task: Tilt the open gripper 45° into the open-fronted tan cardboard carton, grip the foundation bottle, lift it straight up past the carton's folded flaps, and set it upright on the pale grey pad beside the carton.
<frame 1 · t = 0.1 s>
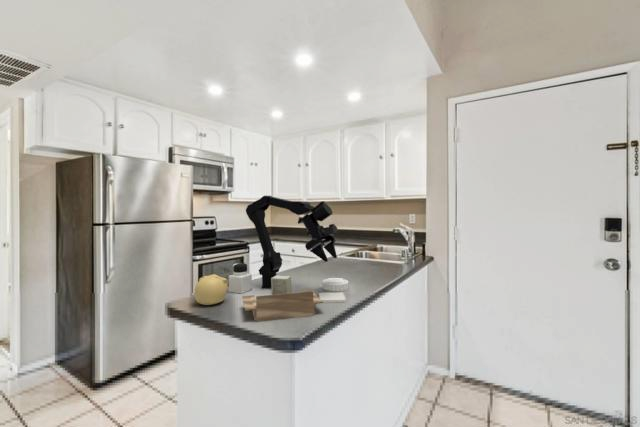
hand: (331, 259, 131), 15 cm above the countertop, tool tilted 35°, fingers open, 9 cm apart
round white container: (335, 288, 144), on the countertop
skincare box: (281, 311, 113), resting in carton
pad: (331, 298, 127), on the countertop
yellow round lump: (211, 303, 122), on the countertop
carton: (281, 310, 113), on the countertop
medicine bottle: (240, 291, 139), on the countertop
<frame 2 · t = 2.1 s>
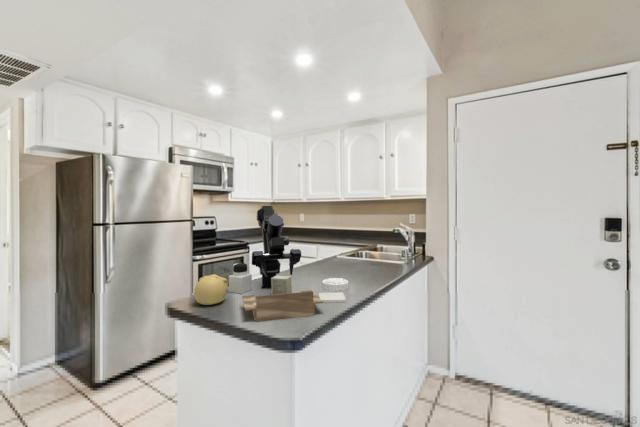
hand: (279, 275, 117), 12 cm above the countertop, tool tilted 45°, fingers open, 9 cm apart
nothing on the countertop moved.
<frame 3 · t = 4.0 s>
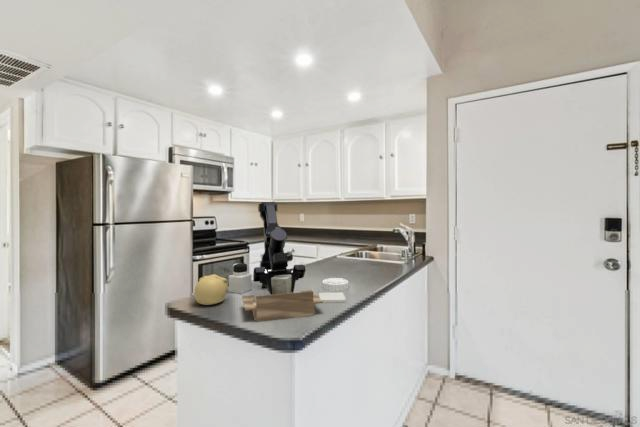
hand: (282, 293, 111), 7 cm above the countertop, tool tilted 45°, fingers closed on skincare box, 7 cm apart
skincare box: (281, 311, 113), resting in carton, touching gripper
everything else where it was.
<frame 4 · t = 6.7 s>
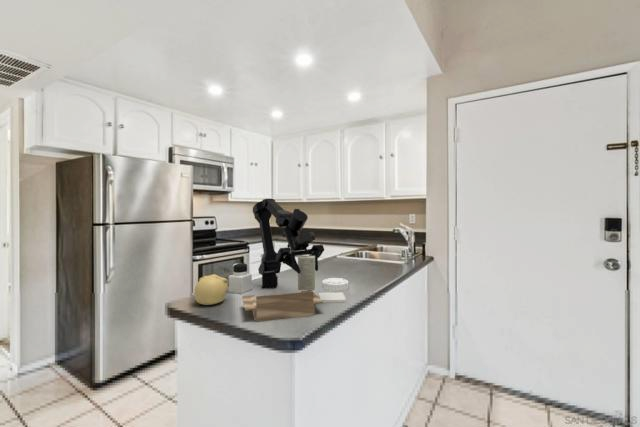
hand: (308, 271, 115), 13 cm above the countertop, tool tilted 45°, fingers closed on skincare box, 7 cm apart
skincare box: (306, 289, 117), point 6 cm above the countertop, touching gripper
everything else where it was.
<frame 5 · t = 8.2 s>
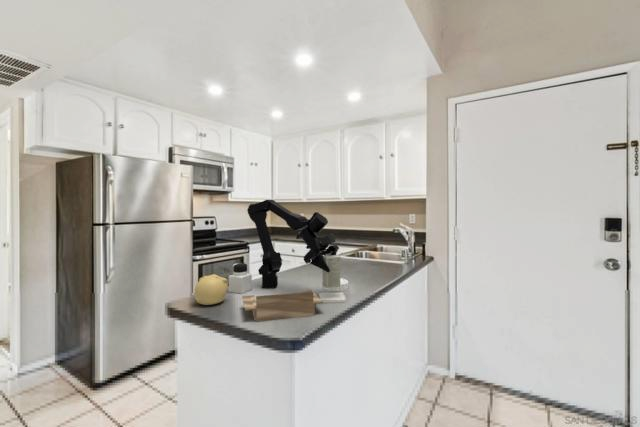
hand: (334, 270, 126), 12 cm above the countertop, tool tilted 45°, fingers closed on skincare box, 7 cm apart
skincare box: (331, 286, 126), point 5 cm above the countertop, touching gripper
everything else where it was.
when the fingers open (8 cm above the countertop, at t = 9.5 s): skincare box stays where it is, resting on pad.
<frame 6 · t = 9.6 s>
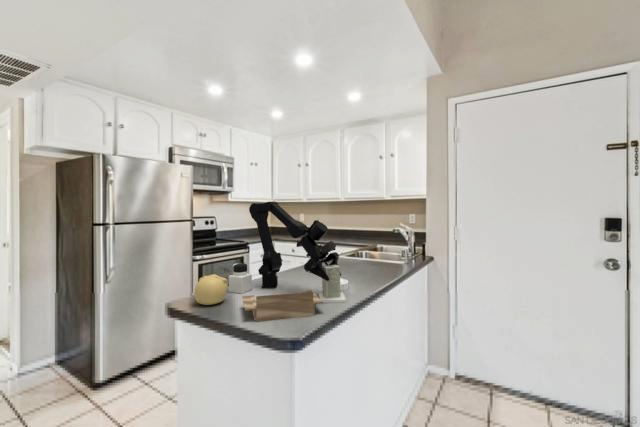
hand: (334, 278, 126), 9 cm above the countertop, tool tilted 45°, fingers open, 9 cm apart
skincare box: (331, 296, 127), point 1 cm above the countertop, touching pad
everything else where it was.
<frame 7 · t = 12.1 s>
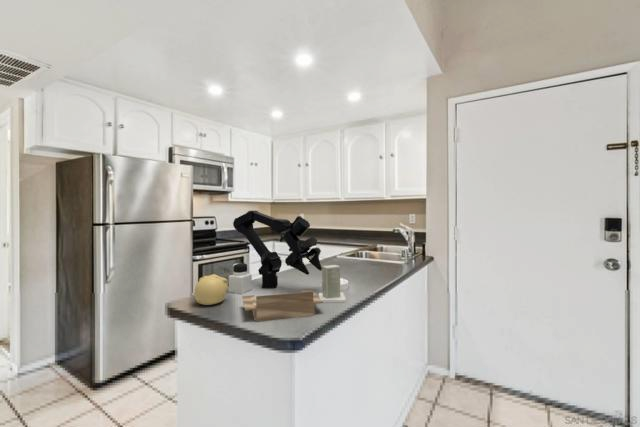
hand: (314, 272, 131), 10 cm above the countertop, tool tilted 45°, fingers open, 9 cm apart
nothing on the countertop moved.
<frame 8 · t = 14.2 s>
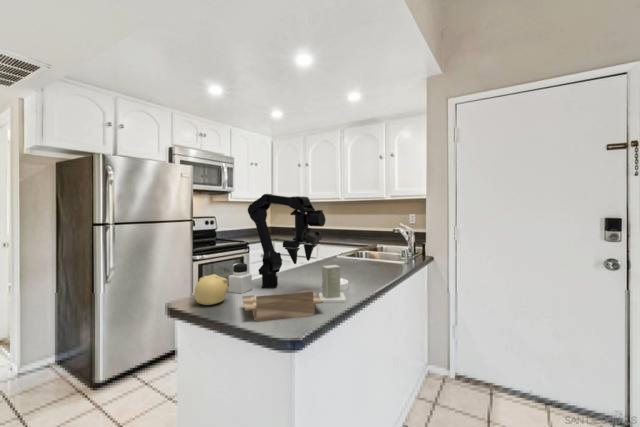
hand: (301, 262, 136), 13 cm above the countertop, tool pointing down, fingers open, 9 cm apart
nothing on the countertop moved.
at the end: skincare box inside the target area on the pad (0.3 cm from its centre), point 0.8 cm above the pad's base; skincare box tilted 0°; the gripper is holding nothing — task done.
